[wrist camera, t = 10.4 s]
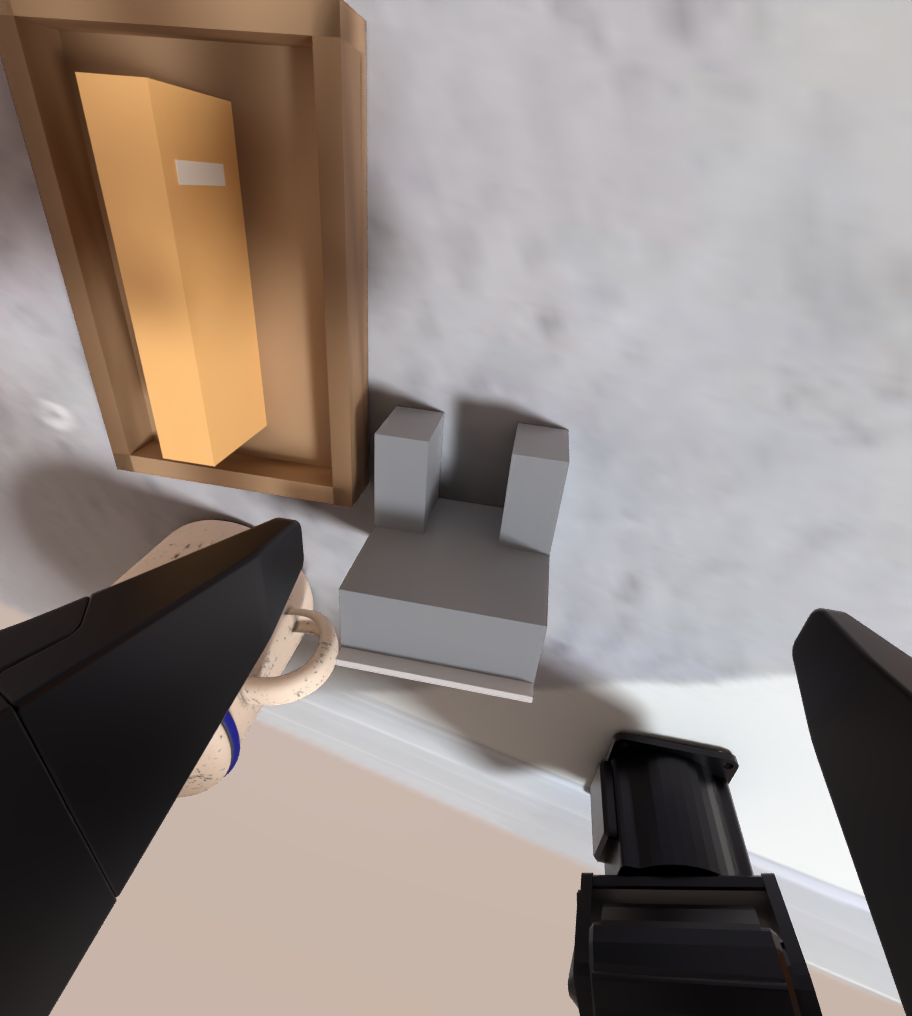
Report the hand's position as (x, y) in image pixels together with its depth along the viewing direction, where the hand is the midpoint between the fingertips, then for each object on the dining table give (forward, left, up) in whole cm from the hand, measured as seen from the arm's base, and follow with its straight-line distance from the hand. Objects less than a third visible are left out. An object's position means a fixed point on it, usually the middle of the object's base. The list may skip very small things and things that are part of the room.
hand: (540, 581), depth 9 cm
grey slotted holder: (+2, +5, -12) cm, 14 cm away
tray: (+12, -2, -12) cm, 18 cm away
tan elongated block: (+12, -2, -12) cm, 17 cm away
